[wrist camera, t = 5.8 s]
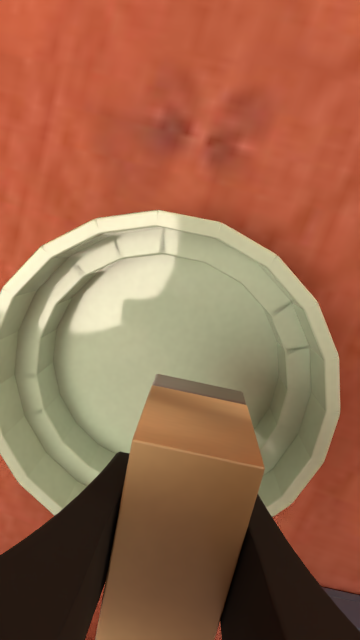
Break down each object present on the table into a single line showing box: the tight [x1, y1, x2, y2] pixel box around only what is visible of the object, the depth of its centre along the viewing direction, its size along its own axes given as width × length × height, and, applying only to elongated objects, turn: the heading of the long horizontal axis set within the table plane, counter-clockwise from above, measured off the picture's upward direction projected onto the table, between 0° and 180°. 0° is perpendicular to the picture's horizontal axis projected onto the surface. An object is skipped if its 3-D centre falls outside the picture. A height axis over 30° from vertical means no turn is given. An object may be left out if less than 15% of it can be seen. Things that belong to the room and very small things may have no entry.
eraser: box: [95, 374, 265, 640], centre depth 10 cm, size 3×6×4 cm, turn 169°
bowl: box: [0, 210, 340, 517], centre depth 16 cm, size 15×15×4 cm
